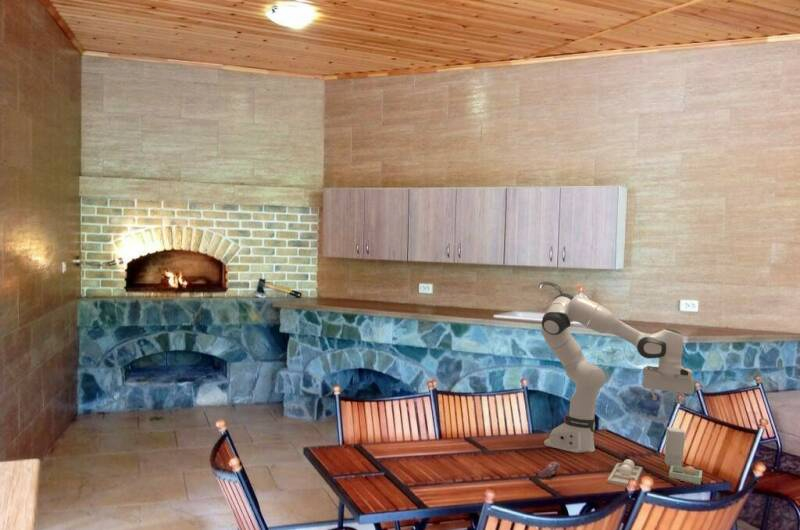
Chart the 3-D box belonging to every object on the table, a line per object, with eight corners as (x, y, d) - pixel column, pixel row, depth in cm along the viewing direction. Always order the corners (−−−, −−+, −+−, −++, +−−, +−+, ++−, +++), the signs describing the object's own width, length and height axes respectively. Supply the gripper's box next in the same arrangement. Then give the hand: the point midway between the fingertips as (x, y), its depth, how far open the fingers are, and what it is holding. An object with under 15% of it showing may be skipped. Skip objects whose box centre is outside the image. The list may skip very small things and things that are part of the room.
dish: (668, 479, 302) (669, 472, 302) (670, 472, 313) (671, 464, 313) (700, 485, 297) (701, 477, 297) (701, 477, 308) (702, 470, 308)
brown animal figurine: (546, 483, 288) (555, 469, 287) (536, 475, 290) (545, 461, 289) (554, 477, 297) (563, 463, 295) (545, 470, 299) (554, 456, 297)
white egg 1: (621, 470, 305) (622, 459, 305) (623, 468, 309) (624, 457, 309) (633, 473, 303) (634, 461, 303) (634, 470, 307) (635, 459, 307)
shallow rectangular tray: (606, 485, 287) (607, 479, 287) (616, 467, 313) (617, 462, 313) (634, 490, 283) (634, 484, 283) (642, 472, 309) (642, 467, 309)
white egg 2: (618, 476, 297) (619, 464, 296) (620, 473, 301) (621, 462, 301) (630, 478, 295) (631, 467, 295) (632, 475, 299) (633, 464, 299)
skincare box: (682, 469, 319) (685, 432, 319) (665, 466, 320) (669, 430, 320) (679, 463, 327) (682, 428, 327) (663, 461, 328) (666, 426, 328)
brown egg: (681, 472, 303) (689, 464, 302) (681, 469, 308) (690, 462, 306) (689, 481, 302) (698, 473, 301) (690, 478, 306) (698, 471, 305)
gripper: (642, 366, 313) (639, 399, 313) (695, 373, 304) (692, 406, 305) (644, 364, 318) (641, 396, 319) (695, 371, 310) (692, 404, 311)
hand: (666, 401), depth 312 cm, fingers open, 8 cm apart
